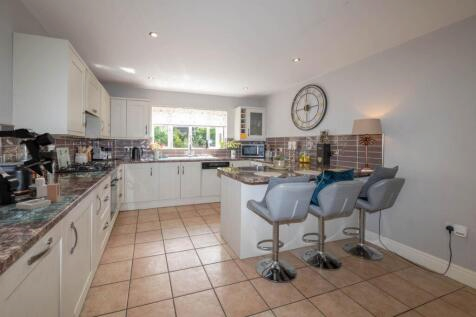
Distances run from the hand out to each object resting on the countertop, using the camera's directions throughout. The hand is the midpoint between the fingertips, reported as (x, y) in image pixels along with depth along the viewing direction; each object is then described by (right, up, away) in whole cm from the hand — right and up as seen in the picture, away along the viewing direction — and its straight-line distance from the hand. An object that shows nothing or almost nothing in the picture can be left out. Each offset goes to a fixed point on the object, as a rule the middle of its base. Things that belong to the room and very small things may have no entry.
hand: (47, 174), depth 130 cm
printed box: (-16, -15, +13) cm, 26 cm away
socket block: (0, -17, -8) cm, 18 cm away
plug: (+1, -16, +4) cm, 16 cm away
